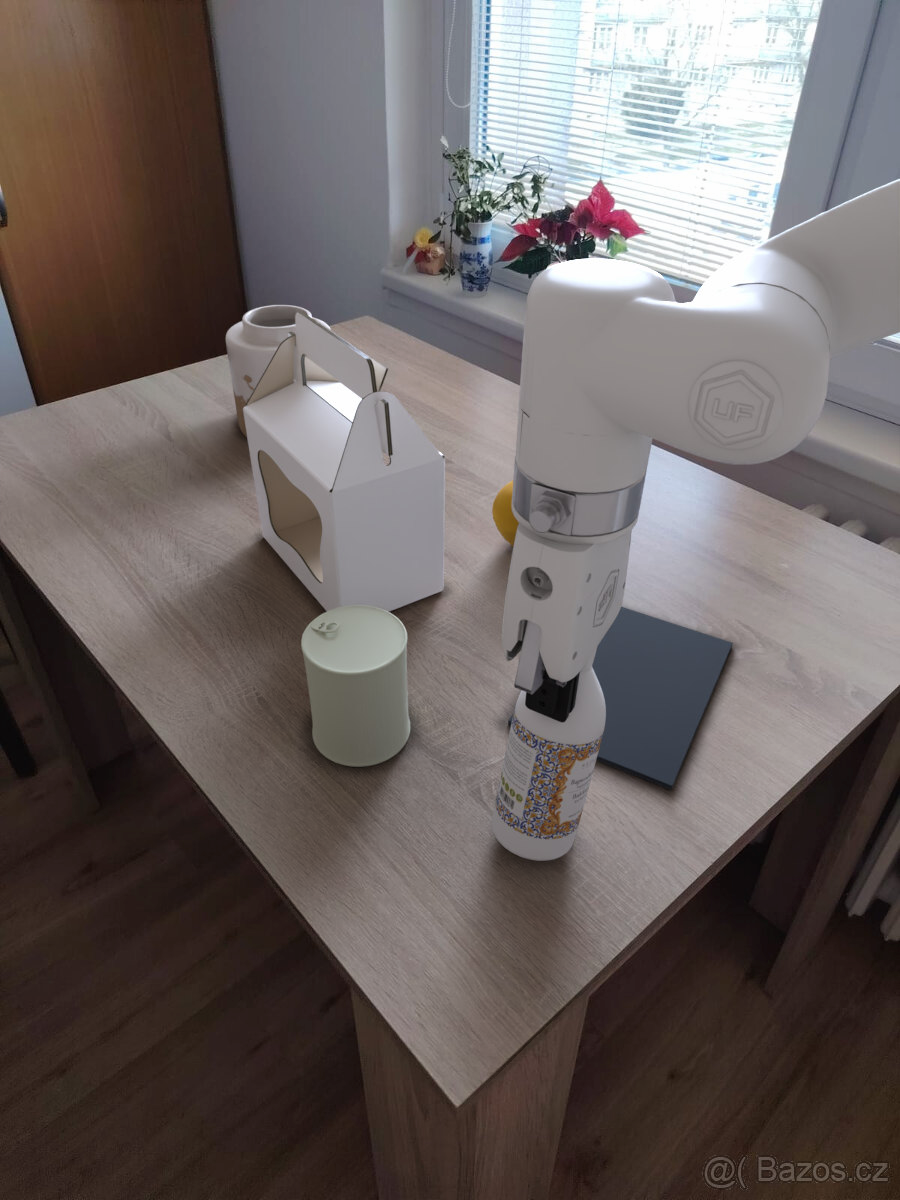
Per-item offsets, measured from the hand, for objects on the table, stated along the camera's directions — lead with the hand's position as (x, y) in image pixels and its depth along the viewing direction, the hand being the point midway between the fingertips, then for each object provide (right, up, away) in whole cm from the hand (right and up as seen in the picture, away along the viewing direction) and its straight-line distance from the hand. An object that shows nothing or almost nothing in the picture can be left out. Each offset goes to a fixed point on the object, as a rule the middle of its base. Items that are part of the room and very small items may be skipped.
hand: (549, 708), depth 60 cm
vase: (-32, +35, +69) cm, 84 cm away
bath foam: (0, -12, +9) cm, 14 cm away
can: (-16, -5, +19) cm, 25 cm away
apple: (+2, +15, +43) cm, 46 cm away
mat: (+11, -1, +24) cm, 26 cm away
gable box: (-19, +12, +40) cm, 46 cm away
